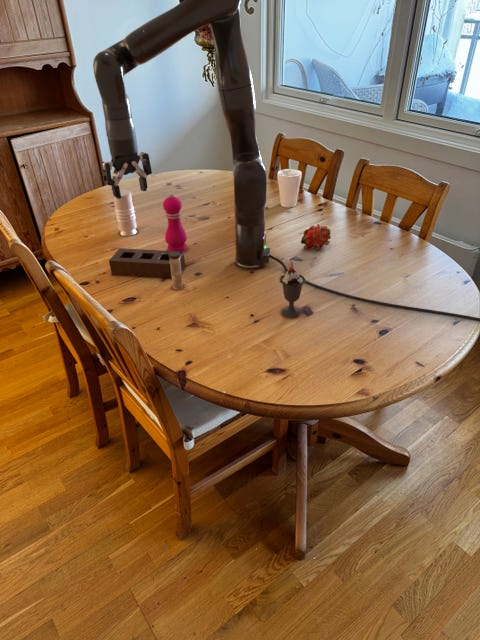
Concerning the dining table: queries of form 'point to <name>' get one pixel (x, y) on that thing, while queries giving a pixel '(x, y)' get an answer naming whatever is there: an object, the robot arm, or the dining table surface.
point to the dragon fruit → (316, 237)
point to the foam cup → (289, 186)
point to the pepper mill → (174, 224)
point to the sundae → (292, 290)
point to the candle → (125, 213)
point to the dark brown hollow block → (143, 263)
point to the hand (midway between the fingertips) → (131, 194)
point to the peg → (176, 270)
